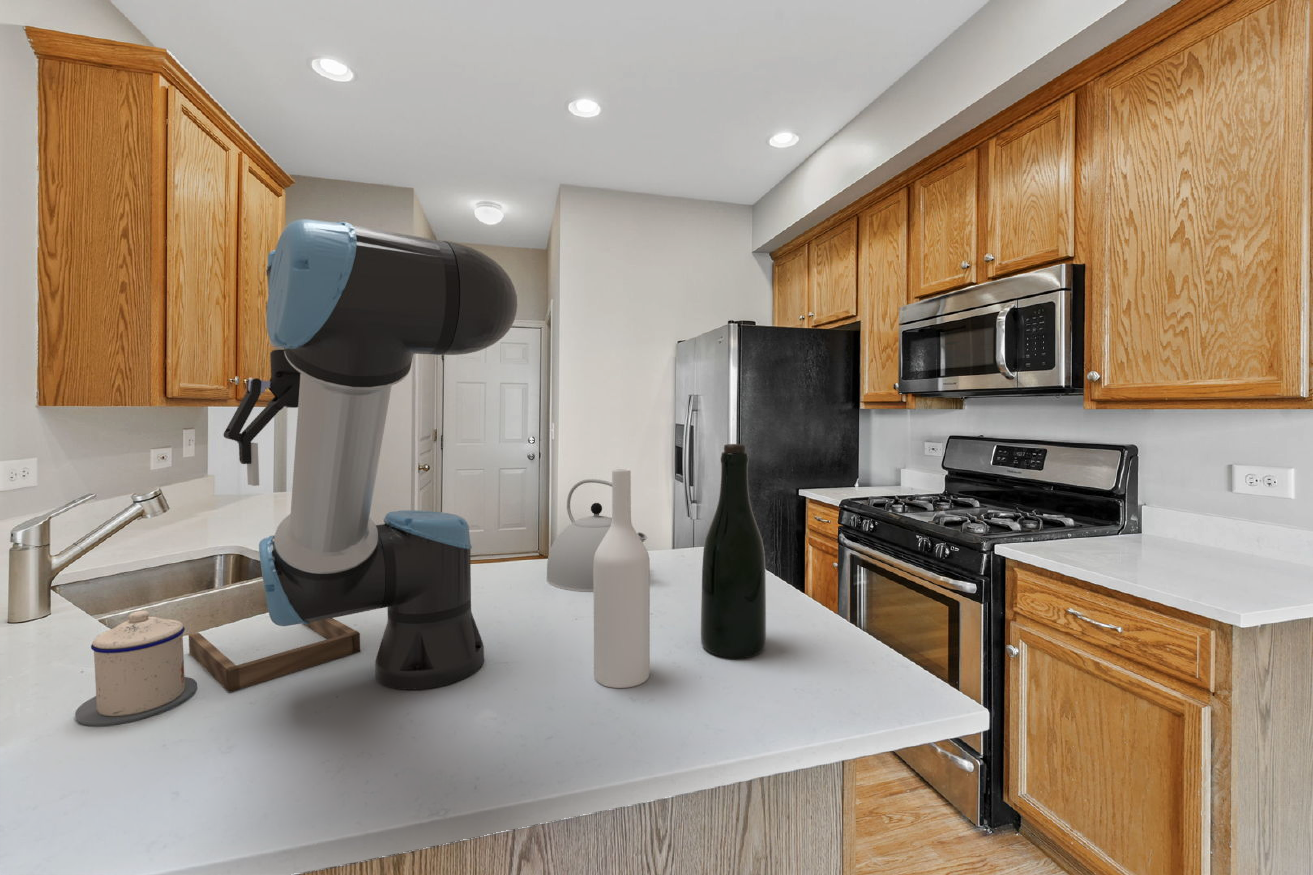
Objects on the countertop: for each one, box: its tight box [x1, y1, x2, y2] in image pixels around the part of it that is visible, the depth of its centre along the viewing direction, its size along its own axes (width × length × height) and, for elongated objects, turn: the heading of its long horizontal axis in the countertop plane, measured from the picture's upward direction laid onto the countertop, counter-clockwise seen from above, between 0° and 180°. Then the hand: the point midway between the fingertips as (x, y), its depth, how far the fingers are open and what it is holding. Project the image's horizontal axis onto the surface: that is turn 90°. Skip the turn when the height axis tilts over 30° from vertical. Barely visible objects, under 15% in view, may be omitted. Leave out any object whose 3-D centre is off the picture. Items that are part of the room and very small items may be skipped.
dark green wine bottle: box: [700, 443, 767, 659], centre depth 94 cm, size 10×10×33 cm
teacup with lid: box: [90, 610, 186, 716], centre depth 77 cm, size 12×9×12 cm
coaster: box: [74, 676, 198, 727], centre depth 77 cm, size 12×12×1 cm
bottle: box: [593, 468, 651, 689], centre depth 84 cm, size 8×8×30 cm
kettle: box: [546, 478, 648, 593], centre depth 133 cm, size 25×23×22 cm
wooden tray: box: [188, 618, 361, 693], centre depth 93 cm, size 20×17×3 cm
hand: (301, 480), depth 96 cm, fingers open, 13 cm apart
